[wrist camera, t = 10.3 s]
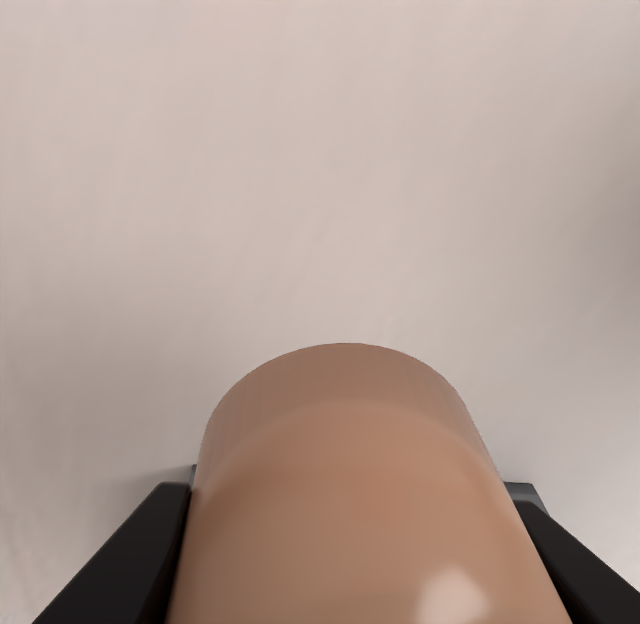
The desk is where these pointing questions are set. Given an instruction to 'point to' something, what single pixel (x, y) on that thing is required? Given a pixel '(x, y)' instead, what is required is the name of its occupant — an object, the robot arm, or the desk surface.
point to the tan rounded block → (352, 504)
